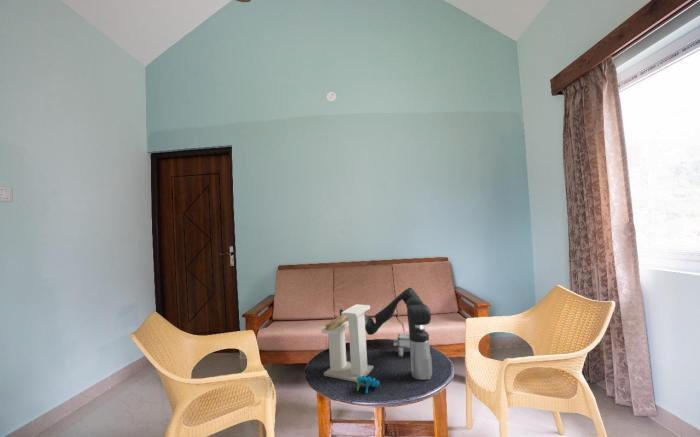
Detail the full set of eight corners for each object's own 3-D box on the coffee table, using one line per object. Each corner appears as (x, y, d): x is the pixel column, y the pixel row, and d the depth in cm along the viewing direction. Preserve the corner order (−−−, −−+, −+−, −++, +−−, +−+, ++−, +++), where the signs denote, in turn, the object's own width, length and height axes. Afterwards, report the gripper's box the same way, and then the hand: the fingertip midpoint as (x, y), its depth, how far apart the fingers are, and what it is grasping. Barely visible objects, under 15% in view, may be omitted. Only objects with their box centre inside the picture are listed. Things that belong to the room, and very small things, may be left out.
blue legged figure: (383, 383, 137) (373, 374, 132) (381, 398, 133) (371, 389, 128) (361, 382, 143) (351, 373, 137) (359, 396, 138) (348, 387, 133)
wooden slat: (353, 316, 172) (353, 311, 173) (331, 330, 150) (330, 324, 150) (349, 316, 174) (348, 310, 174) (325, 330, 152) (325, 324, 152)
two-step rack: (373, 368, 157) (369, 305, 158) (360, 382, 143) (356, 313, 144) (339, 362, 166) (336, 302, 167) (323, 375, 152) (320, 310, 153)
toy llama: (395, 351, 177) (392, 316, 178) (426, 352, 173) (423, 316, 174) (394, 356, 169) (391, 320, 170) (426, 357, 166) (424, 320, 167)
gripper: (349, 311, 186) (337, 304, 174) (371, 313, 180) (359, 305, 167) (347, 324, 183) (334, 317, 170) (369, 326, 176) (357, 319, 164)
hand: (347, 311), depth 169 cm, fingers open, 8 cm apart
